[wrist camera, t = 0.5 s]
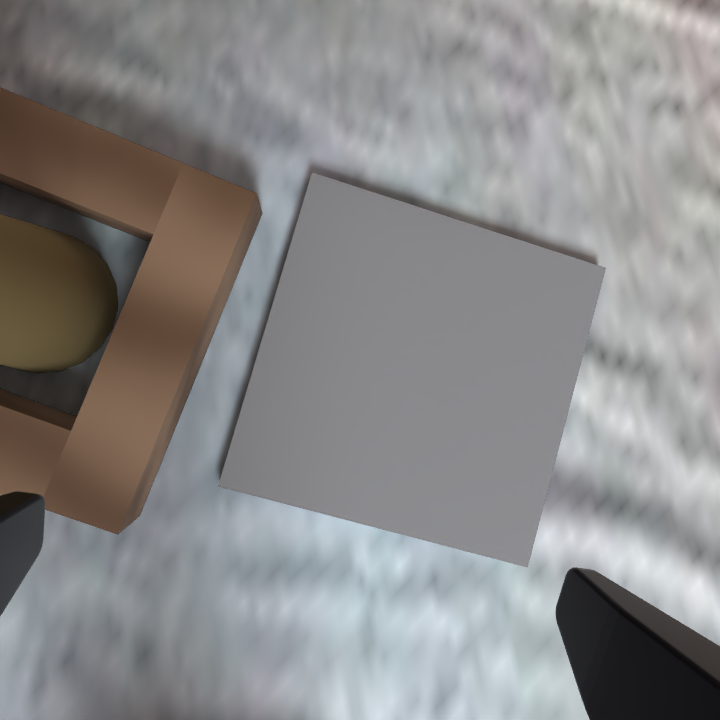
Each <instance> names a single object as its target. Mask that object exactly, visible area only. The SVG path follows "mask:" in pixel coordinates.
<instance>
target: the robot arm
mask: <svg viewBox="0 0 720 720" xmlns="http://www.w3.org/2000/svg"><path fill="white" fill-rule="evenodd" d="M44 518H45V500H44V498H43V496H42V495H40V494H35V493H28V492H21V491H15V492H11V493H8V494H4V495H1V496H0V616H1V614H2V613H3V611H4V610H5V608H6V606H7V605H8V603H9V602H10V600H11V598H12V597H13V595H14V594H15V592H16V590H17V589H18V587H19V586H20V584H21V582H22V581H23V579H24V578H25V576H26V574H27V573H28V571H29V570H30V568H31V566H32V565H33V563H34V561H35V560H36V558H37V557H38V555H39V553H40V550H41V547H42V543H43V534H44ZM556 620H557V624H558V627H559V630H560V633H561V636H562V640H563V643H564V646H565V649H566V652H567V655H568V658H569V661H570V664H571V667H572V670H573V673H574V677H575V680H576V683H577V686H578V689H579V692H580V695H581V698H582V701H583V703H584V706H585V709H586V711H587V714H588V716H589V719H590V720H720V646H718V645H717V644H715V643H714V642H712V641H710V640H709V639H707V638H705V637H704V636H702V635H700V634H699V633H697V632H695V631H694V630H692V629H690V628H689V627H687V626H685V625H684V624H682V623H681V622H679V621H677V620H676V619H674V618H672V617H671V616H669V615H667V614H666V613H664V612H662V611H661V610H659V609H657V608H656V607H654V606H652V605H651V604H649V603H648V602H646V601H644V600H643V599H641V598H639V597H638V596H636V595H634V594H633V593H631V592H629V591H628V590H626V589H624V588H623V587H621V586H619V585H618V584H616V583H615V582H613V581H611V580H610V579H608V578H606V577H605V576H603V575H601V574H600V573H598V572H596V571H594V570H590V569H583V568H572V569H570V570H569V571H568V572H567V574H566V577H565V580H564V583H563V586H562V590H561V593H560V596H559V599H558V602H557V606H556Z"/></svg>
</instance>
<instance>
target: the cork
mask: <svg viewBox="0 0 720 720" xmlns="http://www.w3.org/2000/svg"><path fill="white" fill-rule="evenodd" d="M117 309H118V300H117V289H116V283H115V281H114V279H113V276H112V274H111V272H110V270H109V267H108V265H107V263H106V262H105V261H104V260H103V259H102V258H101V257H100V256H99V255H98V254H97V252H96V251H95V250H94V249H93V248H92V247H91V246H89V245H87V244H85V243H84V242H82V241H80V240H78V239H77V238H75V237H73V236H71V235H68V234H65V233H62V232H58V231H55V230H52V229H48V228H45V227H42V226H38V225H35V224H32V223H28V222H25V221H22V220H18V219H15V218H12V217H8V216H5V215H2V214H0V365H3V366H7V367H11V368H15V369H19V370H24V371H29V372H34V373H45V372H56V371H62V370H65V369H67V368H70V367H72V366H75V365H77V364H79V363H82V362H84V361H85V360H86V359H87V358H88V357H90V356H91V355H92V354H93V353H94V352H96V351H97V350H98V349H99V348H100V347H101V346H102V345H103V343H104V341H105V340H106V338H107V337H108V335H109V333H110V332H111V330H112V329H113V325H114V321H115V317H116V313H117Z"/></svg>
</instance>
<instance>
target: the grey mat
mask: <svg viewBox="0 0 720 720" xmlns="http://www.w3.org/2000/svg"><path fill="white" fill-rule="evenodd" d="M605 269H606V268H605V267H602V266H598V265H595V264H592V263H589V262H586V261H583V260H580V259H577V258H574V257H571V256H568V255H565V254H562V253H559V252H555V251H552V250H549V249H546V248H543V247H540V246H537V245H534V244H531V243H528V242H525V241H522V240H519V239H516V238H512V237H509V236H506V235H503V234H500V233H497V232H494V231H491V230H488V229H485V228H482V227H479V226H476V225H473V224H469V223H466V222H463V221H460V220H457V219H454V218H451V217H448V216H445V215H442V214H439V213H436V212H433V211H430V210H426V209H423V208H420V207H417V206H414V205H411V204H408V203H405V202H402V201H399V200H396V199H393V198H390V197H387V196H383V195H380V194H377V193H374V192H371V191H368V190H365V189H362V188H359V187H356V186H353V185H350V184H347V183H344V182H340V181H337V180H334V179H331V178H328V177H325V176H322V175H319V174H316V173H313V172H312V174H311V177H310V181H309V184H308V187H307V191H306V194H305V197H304V201H303V204H302V207H301V211H300V214H299V217H298V221H297V224H296V227H295V231H294V234H293V237H292V241H291V244H290V247H289V251H288V254H287V257H286V261H285V264H284V267H283V271H282V274H281V277H280V281H279V284H278V287H277V291H276V294H275V297H274V301H273V304H272V308H271V311H270V314H269V318H268V321H267V324H266V328H265V331H264V334H263V338H262V341H261V344H260V348H259V351H258V354H257V358H256V361H255V364H254V368H253V371H252V374H251V378H250V381H249V384H248V388H247V391H246V394H245V398H244V401H243V404H242V408H241V411H240V414H239V418H238V421H237V424H236V428H235V431H234V434H233V438H232V441H231V444H230V448H229V451H228V455H227V458H226V461H225V465H224V468H223V471H222V475H221V478H220V481H219V485H218V486H219V487H223V488H227V489H231V490H234V491H238V492H242V493H246V494H250V495H253V496H257V497H261V498H265V499H269V500H273V501H276V502H280V503H284V504H288V505H292V506H295V507H299V508H303V509H307V510H311V511H315V512H318V513H322V514H326V515H330V516H334V517H337V518H341V519H345V520H349V521H353V522H357V523H360V524H364V525H368V526H372V527H376V528H379V529H383V530H387V531H391V532H395V533H398V534H402V535H406V536H410V537H414V538H418V539H421V540H425V541H429V542H433V543H437V544H440V545H444V546H448V547H452V548H456V549H460V550H463V551H467V552H471V553H475V554H479V555H482V556H486V557H490V558H494V559H498V560H502V561H505V562H509V563H513V564H517V565H521V566H524V567H528V563H529V559H530V556H531V552H532V548H533V544H534V540H535V537H536V533H537V529H538V525H539V521H540V517H541V514H542V510H543V506H544V502H545V498H546V495H547V491H548V487H549V483H550V479H551V475H552V472H553V468H554V464H555V460H556V456H557V452H558V449H559V445H560V441H561V437H562V433H563V430H564V426H565V422H566V418H567V414H568V410H569V407H570V403H571V399H572V395H573V391H574V388H575V384H576V380H577V376H578V372H579V368H580V365H581V361H582V357H583V353H584V349H585V346H586V342H587V338H588V334H589V330H590V326H591V323H592V319H593V315H594V311H595V307H596V304H597V300H598V296H599V292H600V288H601V284H602V281H603V277H604V273H605Z"/></svg>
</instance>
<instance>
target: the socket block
mask: <svg viewBox="0 0 720 720" xmlns="http://www.w3.org/2000/svg"><path fill="white" fill-rule="evenodd" d="M0 183H3V184H5V185H8V186H10V187H13V188H16V189H18V190H21V191H23V192H26V193H28V194H31V195H33V196H36V197H38V198H41V199H43V200H46V201H48V202H51V203H53V204H56V205H58V206H61V207H63V208H66V209H68V210H71V211H73V212H76V213H78V214H81V215H83V216H86V217H89V218H91V219H94V220H96V221H99V222H101V223H104V224H106V225H109V226H111V227H114V228H116V229H119V230H121V231H124V232H126V233H129V234H131V235H134V236H136V237H139V238H141V239H144V240H146V241H149V242H150V244H149V246H148V249H147V251H146V253H145V256H144V258H143V261H142V263H141V265H140V268H139V270H138V273H137V275H136V277H135V280H134V282H133V284H132V287H131V289H130V292H129V294H128V296H127V299H126V301H125V304H124V306H123V308H122V311H121V313H120V315H119V318H118V320H117V323H116V325H115V327H114V330H113V332H112V335H111V337H110V339H109V342H108V344H107V346H106V349H105V351H104V354H103V356H102V358H101V361H100V363H99V366H98V368H97V370H96V373H95V375H94V377H93V380H92V382H91V385H90V387H89V389H88V392H87V394H86V397H85V399H84V401H83V404H82V406H81V408H80V411H79V413H78V416H74V415H71V414H68V413H65V412H63V411H60V410H57V409H54V408H52V407H49V406H46V405H43V404H41V403H38V402H35V401H32V400H29V399H27V398H24V397H21V396H18V395H16V394H13V393H10V392H7V391H5V390H2V389H0V494H2V495H4V494H8V493H11V492H15V491H21V492H28V493H35V494H40V495H42V496H43V498H44V500H45V510H48V511H51V512H54V513H57V514H60V515H63V516H66V517H69V518H71V519H74V520H77V521H80V522H83V523H86V524H89V525H92V526H95V527H98V528H101V529H104V530H106V531H109V532H112V533H115V534H119V533H120V532H121V531H122V530H124V529H125V528H126V527H127V526H128V525H130V524H131V523H132V522H133V521H134V520H135V519H137V518H138V517H139V516H140V514H141V511H142V509H143V506H144V504H145V501H146V499H147V496H148V494H149V492H150V489H151V487H152V484H153V482H154V479H155V477H156V474H157V472H158V469H159V467H160V464H161V462H162V460H163V457H164V455H165V452H166V450H167V447H168V445H169V442H170V440H171V437H172V435H173V432H174V430H175V427H176V425H177V423H178V420H179V418H180V415H181V413H182V410H183V408H184V405H185V403H186V400H187V398H188V395H189V393H190V390H191V388H192V386H193V383H194V381H195V378H196V376H197V373H198V371H199V368H200V366H201V363H202V361H203V358H204V356H205V353H206V351H207V349H208V346H209V344H210V341H211V339H212V336H213V334H214V331H215V329H216V326H217V324H218V321H219V319H220V316H221V314H222V312H223V309H224V307H225V304H226V302H227V299H228V297H229V294H230V292H231V289H232V287H233V284H234V282H235V279H236V277H237V275H238V272H239V270H240V267H241V265H242V262H243V260H244V257H245V255H246V252H247V250H248V247H249V245H250V242H251V240H252V238H253V235H254V233H255V230H256V228H257V225H258V223H259V220H260V218H261V215H262V211H261V207H260V204H259V200H258V196H257V194H256V193H254V192H252V191H249V190H247V189H244V188H242V187H240V186H237V185H235V184H232V183H230V182H227V181H225V180H223V179H220V178H218V177H215V176H213V175H211V174H208V173H206V172H203V171H201V170H198V169H196V168H194V167H191V166H189V165H186V164H184V163H181V162H179V161H177V160H174V159H172V158H169V157H167V156H165V155H162V154H160V153H157V152H155V151H152V150H150V149H148V148H145V147H143V146H140V145H138V144H136V143H133V142H131V141H128V140H126V139H123V138H121V137H119V136H116V135H114V134H111V133H109V132H107V131H104V130H102V129H99V128H97V127H94V126H92V125H90V124H87V123H85V122H82V121H80V120H77V119H75V118H73V117H70V116H68V115H65V114H63V113H61V112H58V111H56V110H53V109H51V108H48V107H46V106H44V105H41V104H39V103H36V102H34V101H32V100H29V99H27V98H24V97H22V96H19V95H17V94H15V93H12V92H10V91H7V90H5V89H3V88H0Z"/></svg>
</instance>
